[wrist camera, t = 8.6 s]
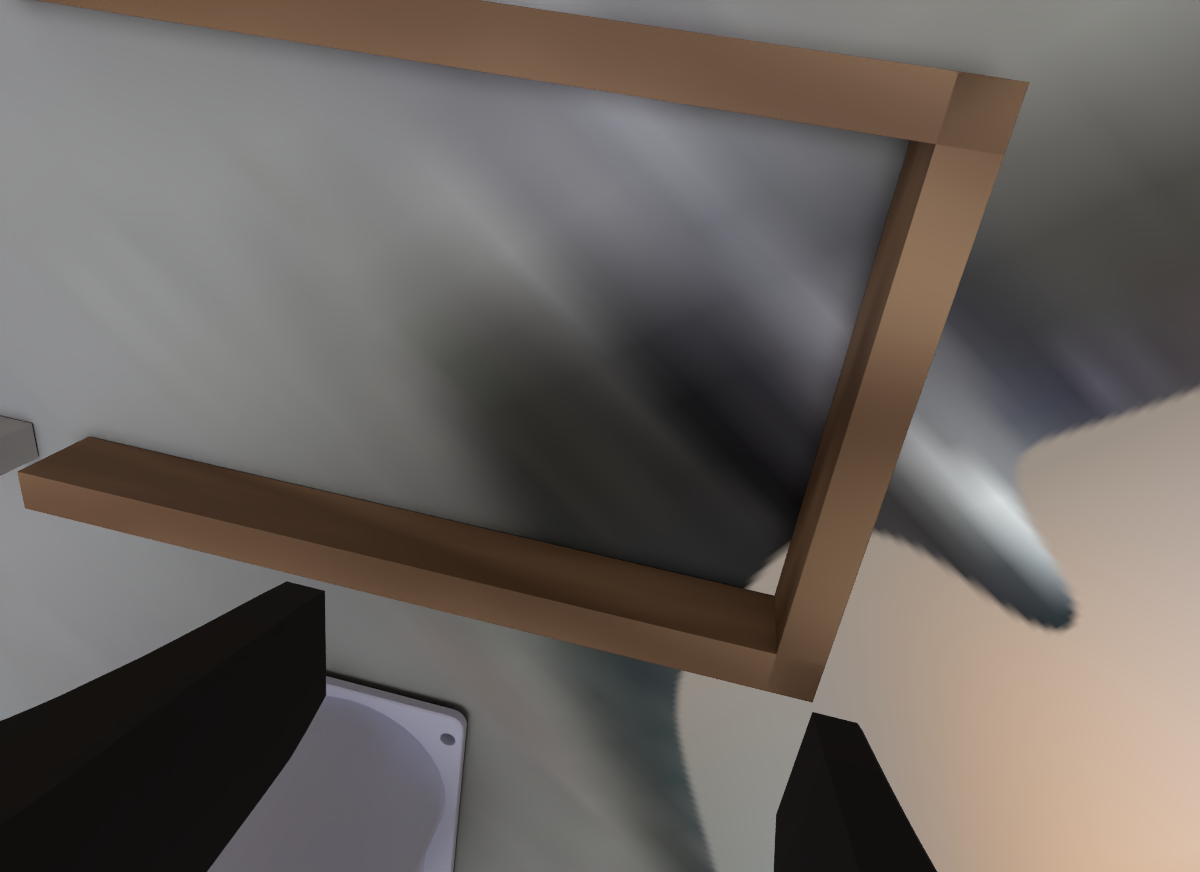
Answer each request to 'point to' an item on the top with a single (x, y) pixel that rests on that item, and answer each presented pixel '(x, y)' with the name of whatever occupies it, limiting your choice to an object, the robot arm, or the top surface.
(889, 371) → the brown u-shaped frame
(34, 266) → the top surface
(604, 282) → the top surface
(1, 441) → the grey corral
